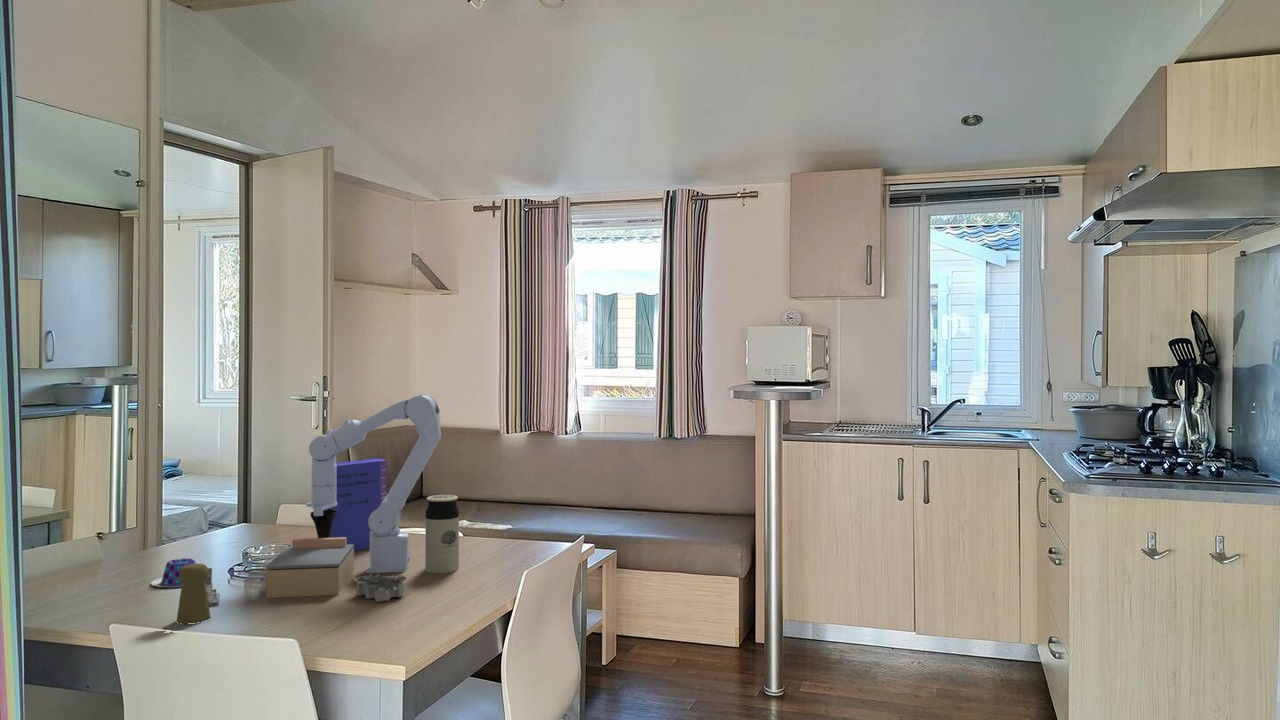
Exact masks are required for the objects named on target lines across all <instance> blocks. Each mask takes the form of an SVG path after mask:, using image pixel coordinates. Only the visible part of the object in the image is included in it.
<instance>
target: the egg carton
mask: <svg viewBox="0 0 1280 720" xmlns="http://www.w3.org/2000/svg"><path fill="white" fill-rule="evenodd" d="M352 579H353V580H354V581H355V582H356V583H355V589H356V591H355V593H356V595H357V596H364V595H365V598H366V599H374V601H375V602H377V603H378V602H388V601H391V600H390V599H391V598H394V597H396V598H397V597H398V598H400V597H402V596H404V590H405V589H404V583H403V582H405V580H406V579H407V577H406V576H404V575H402V574H400V575H398V576H390V575H389V576H386V575H384V576H382V575H381V574H380V573H375V575H373V573H369V575H364V576H362V575H360V577H353V576H352Z"/></svg>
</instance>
